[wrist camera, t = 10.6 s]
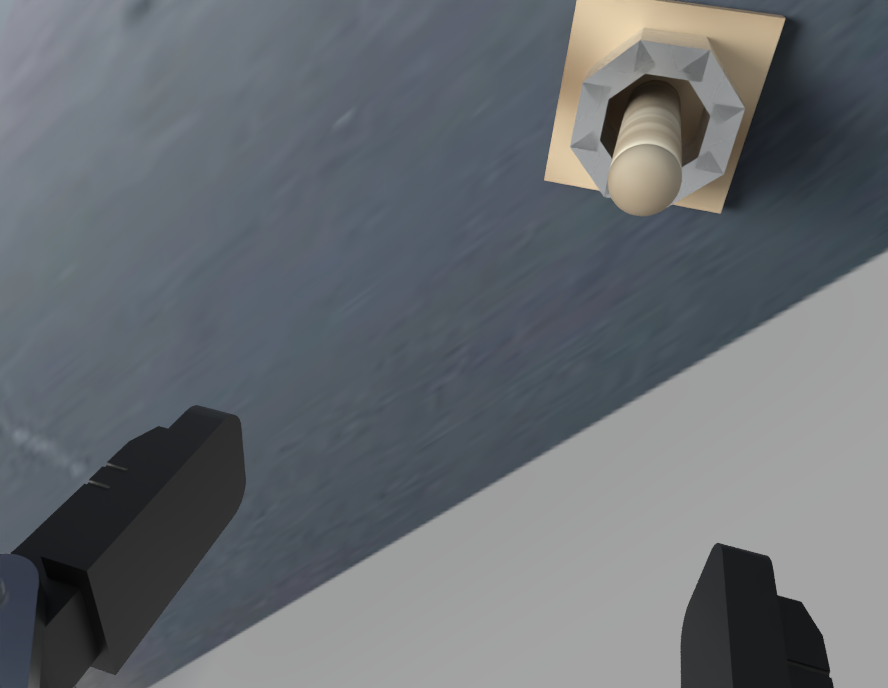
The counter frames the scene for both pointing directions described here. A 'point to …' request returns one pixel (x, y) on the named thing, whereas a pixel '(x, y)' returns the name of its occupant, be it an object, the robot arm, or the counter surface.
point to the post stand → (658, 98)
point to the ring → (667, 59)
